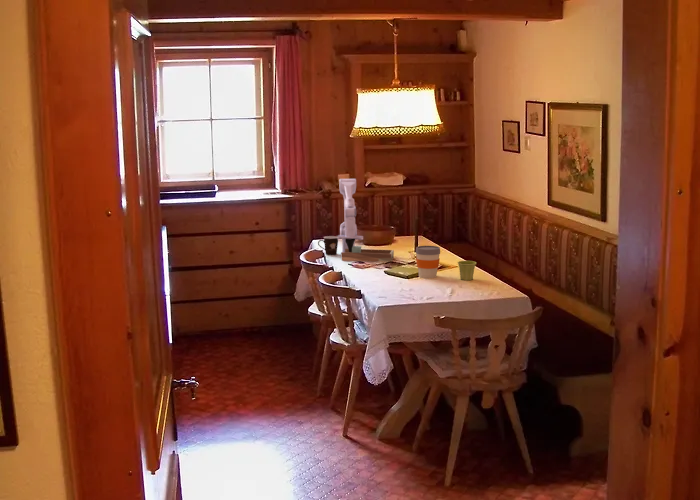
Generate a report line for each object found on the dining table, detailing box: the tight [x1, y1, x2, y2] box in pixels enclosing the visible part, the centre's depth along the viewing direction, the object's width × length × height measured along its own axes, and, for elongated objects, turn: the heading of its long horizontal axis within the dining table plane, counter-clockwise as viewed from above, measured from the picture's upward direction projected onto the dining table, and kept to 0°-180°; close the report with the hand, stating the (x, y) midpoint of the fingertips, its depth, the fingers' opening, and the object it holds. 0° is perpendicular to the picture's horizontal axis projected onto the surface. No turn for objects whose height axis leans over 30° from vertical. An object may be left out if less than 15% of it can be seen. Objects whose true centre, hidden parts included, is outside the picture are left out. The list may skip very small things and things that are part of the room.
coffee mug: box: [317, 235, 339, 256], centre depth 500 cm, size 12×9×10 cm
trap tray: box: [341, 248, 395, 262], centre depth 485 cm, size 13×28×4 cm, turn 81°
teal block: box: [352, 245, 362, 253], centre depth 488 cm, size 4×4×4 cm
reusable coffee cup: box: [415, 245, 441, 279], centre depth 437 cm, size 12×13×15 cm
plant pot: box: [457, 260, 477, 281], centre depth 431 cm, size 9×9×9 cm
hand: (350, 251), depth 489 cm, fingers closed
